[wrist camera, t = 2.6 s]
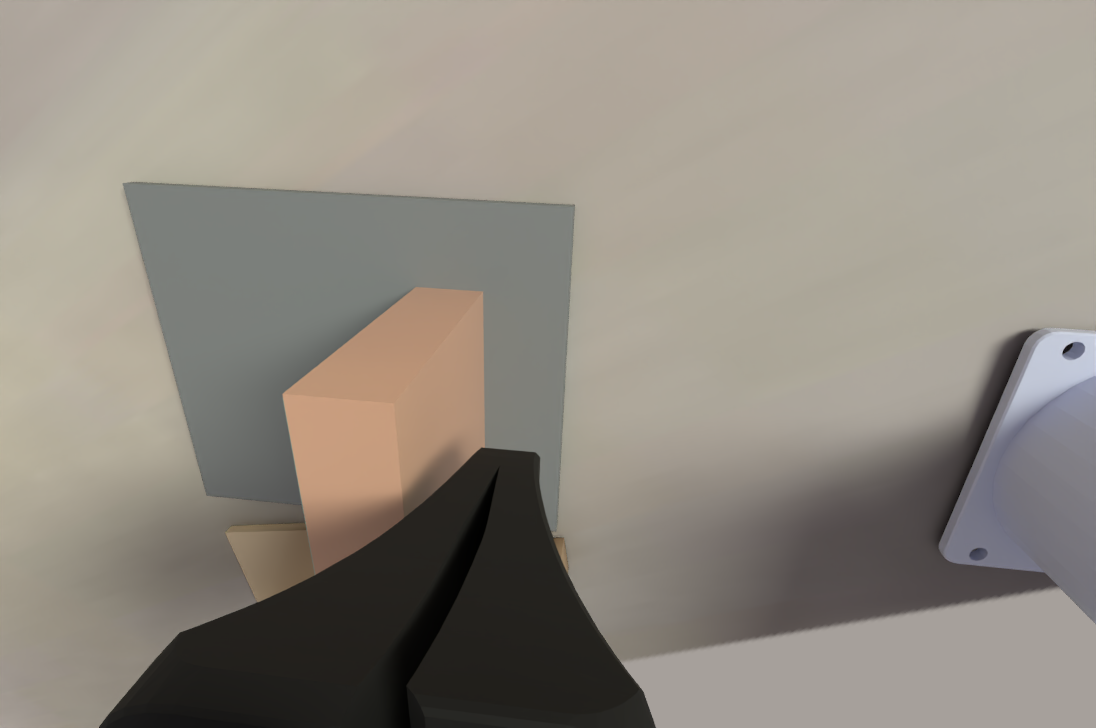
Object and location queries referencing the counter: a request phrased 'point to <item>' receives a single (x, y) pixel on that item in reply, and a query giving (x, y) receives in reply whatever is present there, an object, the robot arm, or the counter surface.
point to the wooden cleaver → (285, 556)
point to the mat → (345, 309)
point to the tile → (387, 419)
